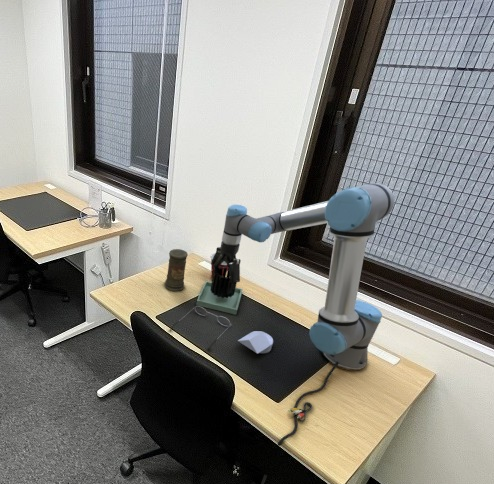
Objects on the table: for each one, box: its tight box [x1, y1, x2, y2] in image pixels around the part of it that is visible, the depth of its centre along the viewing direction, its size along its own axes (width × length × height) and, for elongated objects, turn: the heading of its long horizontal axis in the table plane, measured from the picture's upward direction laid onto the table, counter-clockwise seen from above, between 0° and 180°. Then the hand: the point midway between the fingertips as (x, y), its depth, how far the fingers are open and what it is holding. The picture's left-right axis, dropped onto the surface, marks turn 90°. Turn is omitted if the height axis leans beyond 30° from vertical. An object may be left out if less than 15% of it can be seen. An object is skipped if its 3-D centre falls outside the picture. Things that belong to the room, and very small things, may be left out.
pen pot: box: [210, 267, 238, 298], centre depth 169 cm, size 10×11×11 cm
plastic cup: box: [210, 253, 232, 277], centre depth 186 cm, size 11×11×12 cm
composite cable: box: [288, 401, 313, 423], centre depth 118 cm, size 10×5×2 cm, turn 120°
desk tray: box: [195, 280, 244, 315], centre depth 173 cm, size 19×18×3 cm
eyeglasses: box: [169, 305, 233, 351], centre depth 153 cm, size 18×19×4 cm
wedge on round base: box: [237, 330, 274, 354], centre depth 144 cm, size 9×7×13 cm
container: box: [164, 248, 188, 292], centre depth 177 cm, size 9×9×18 cm
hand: (221, 286), depth 170 cm, fingers closed on pen pot, 11 cm apart
